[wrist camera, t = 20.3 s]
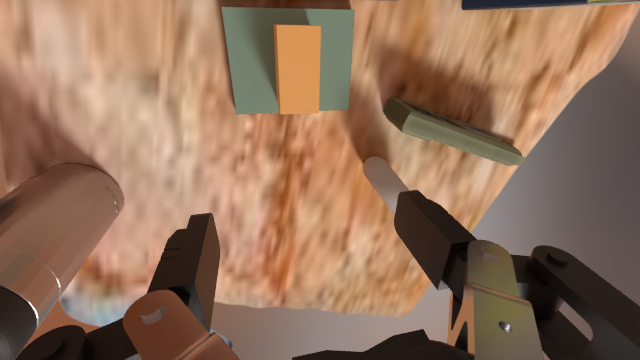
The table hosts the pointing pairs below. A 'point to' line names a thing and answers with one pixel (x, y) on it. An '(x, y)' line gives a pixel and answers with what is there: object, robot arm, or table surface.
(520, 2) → the protein box
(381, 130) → the table surface
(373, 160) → the donut
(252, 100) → the green mat
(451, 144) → the handheld radio
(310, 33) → the orange block
